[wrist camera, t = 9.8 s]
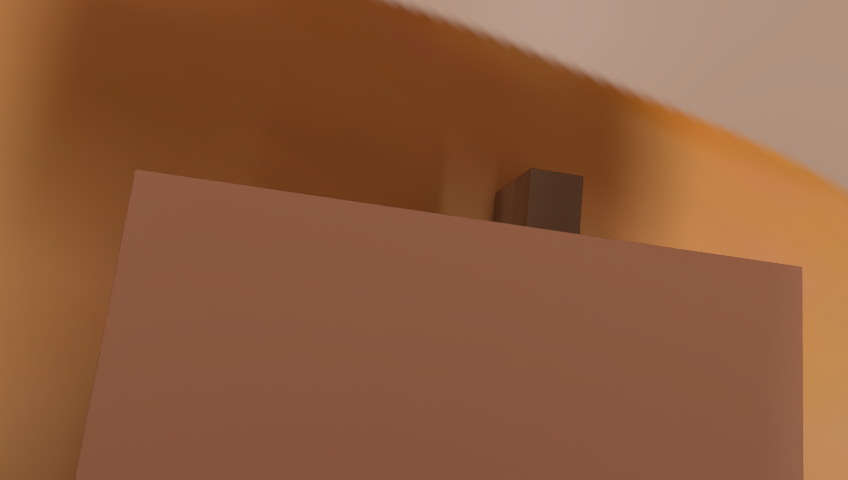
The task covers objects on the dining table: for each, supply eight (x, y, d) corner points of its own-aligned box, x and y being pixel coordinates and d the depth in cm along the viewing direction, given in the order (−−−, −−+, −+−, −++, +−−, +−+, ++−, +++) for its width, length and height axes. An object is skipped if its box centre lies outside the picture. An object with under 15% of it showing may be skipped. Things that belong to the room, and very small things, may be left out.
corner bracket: (56, 591, 15) (-2, 655, 12) (144, 138, 17) (112, 98, 14) (510, 605, 17) (552, 661, 14) (540, 200, 19) (583, 176, 16)
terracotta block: (229, 496, 15) (-50, 1119, 3) (261, 284, 16) (141, 139, 4) (429, 507, 16) (807, 1028, 4) (448, 306, 16) (802, 242, 5)
